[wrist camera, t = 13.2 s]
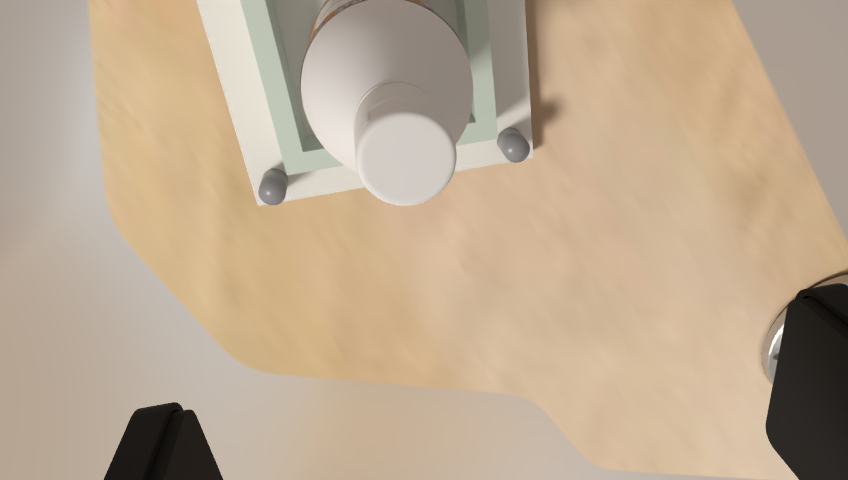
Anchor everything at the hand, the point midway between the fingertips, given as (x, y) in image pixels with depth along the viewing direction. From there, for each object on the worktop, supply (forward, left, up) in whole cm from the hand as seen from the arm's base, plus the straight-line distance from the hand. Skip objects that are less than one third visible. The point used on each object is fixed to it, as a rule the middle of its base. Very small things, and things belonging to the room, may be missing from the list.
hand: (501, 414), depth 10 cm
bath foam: (+1, -1, -29) cm, 29 cm away
